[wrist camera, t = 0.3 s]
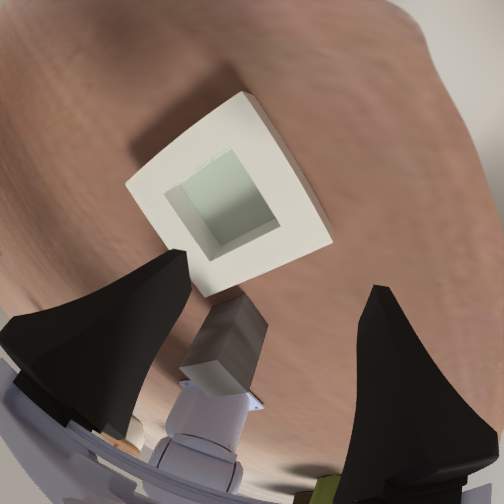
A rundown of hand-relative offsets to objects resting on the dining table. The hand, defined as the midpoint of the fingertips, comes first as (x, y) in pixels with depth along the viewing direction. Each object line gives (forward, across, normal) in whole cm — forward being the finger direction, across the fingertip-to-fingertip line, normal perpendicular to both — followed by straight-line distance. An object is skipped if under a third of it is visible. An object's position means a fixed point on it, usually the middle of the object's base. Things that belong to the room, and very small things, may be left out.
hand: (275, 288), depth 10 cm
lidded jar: (+4, +29, +54) cm, 62 cm away
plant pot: (+4, -20, +62) cm, 65 cm away
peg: (+9, +4, +13) cm, 17 cm away
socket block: (+11, +5, +1) cm, 12 cm away
